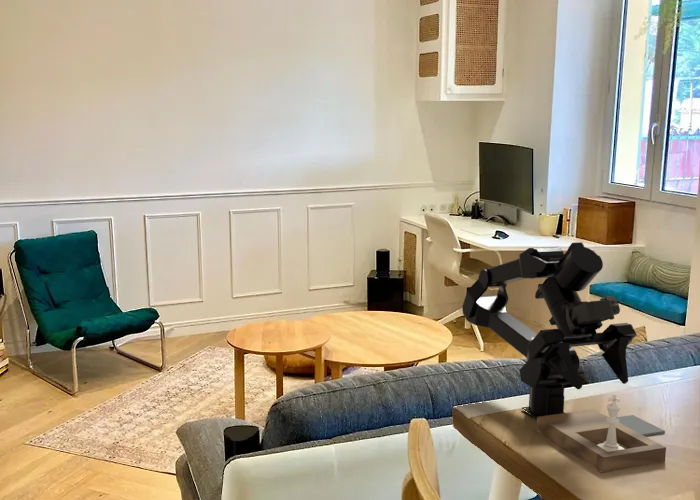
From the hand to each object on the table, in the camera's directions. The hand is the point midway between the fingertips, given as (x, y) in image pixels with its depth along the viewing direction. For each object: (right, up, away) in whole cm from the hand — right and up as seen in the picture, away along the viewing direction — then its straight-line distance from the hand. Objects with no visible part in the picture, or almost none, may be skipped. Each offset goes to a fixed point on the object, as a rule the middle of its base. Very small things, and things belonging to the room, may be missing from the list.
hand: (603, 385), depth 115 cm
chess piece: (+1, -11, -1) cm, 11 cm away
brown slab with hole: (0, -10, +2) cm, 11 cm away
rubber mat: (+9, -9, +10) cm, 16 cm away
